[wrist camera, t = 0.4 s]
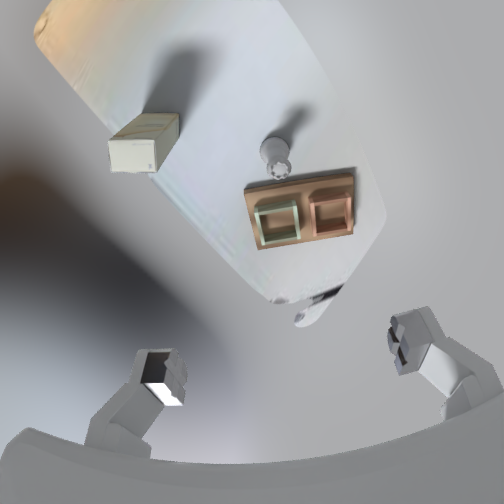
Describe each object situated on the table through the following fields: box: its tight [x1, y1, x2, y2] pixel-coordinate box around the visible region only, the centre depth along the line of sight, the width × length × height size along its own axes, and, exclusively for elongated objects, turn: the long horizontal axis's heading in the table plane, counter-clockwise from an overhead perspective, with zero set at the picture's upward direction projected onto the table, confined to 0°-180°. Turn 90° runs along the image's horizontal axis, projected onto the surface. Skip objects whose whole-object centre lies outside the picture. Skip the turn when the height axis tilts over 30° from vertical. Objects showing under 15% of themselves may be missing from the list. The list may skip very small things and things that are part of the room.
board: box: [244, 173, 354, 250], centre depth 48 cm, size 12×18×4 cm, turn 101°
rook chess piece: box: [260, 137, 291, 180], centre depth 39 cm, size 4×4×8 cm
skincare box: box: [108, 113, 179, 173], centre depth 34 cm, size 6×4×12 cm
